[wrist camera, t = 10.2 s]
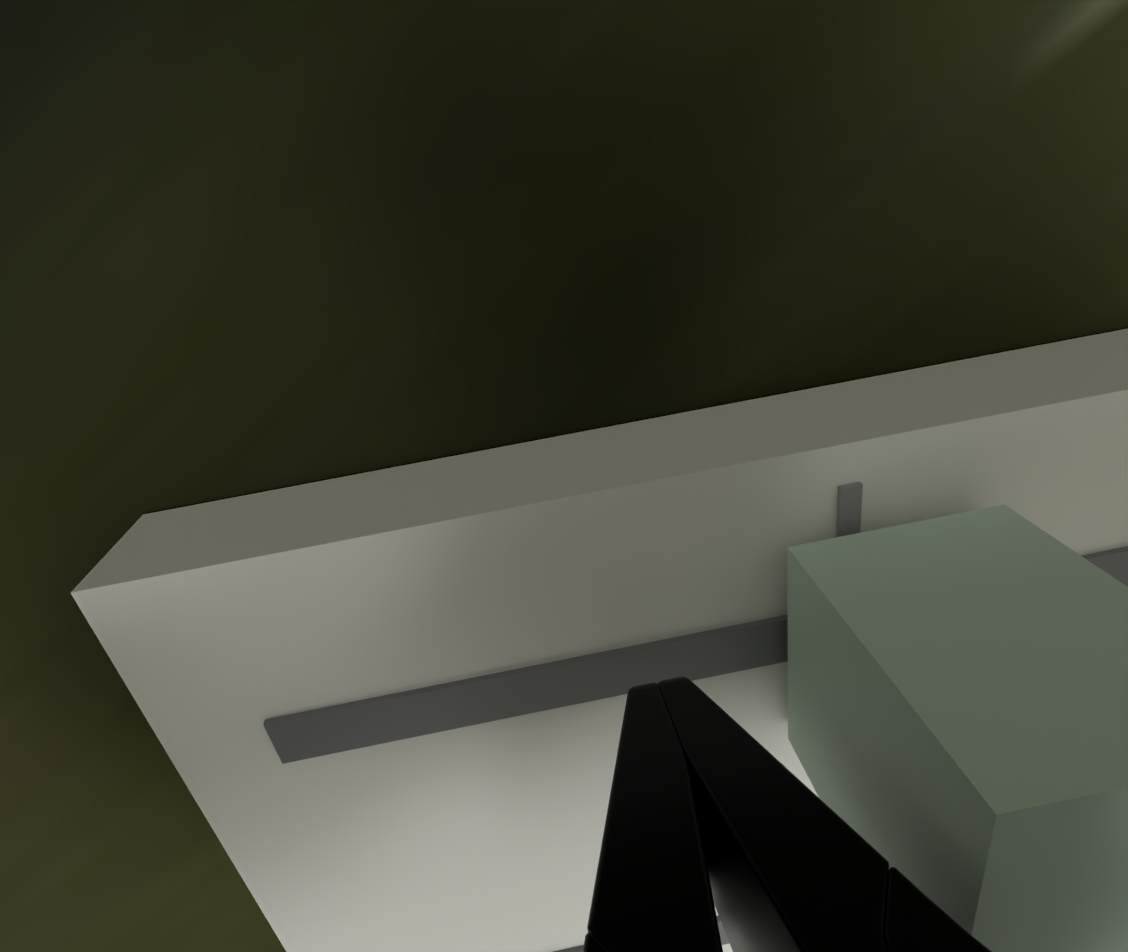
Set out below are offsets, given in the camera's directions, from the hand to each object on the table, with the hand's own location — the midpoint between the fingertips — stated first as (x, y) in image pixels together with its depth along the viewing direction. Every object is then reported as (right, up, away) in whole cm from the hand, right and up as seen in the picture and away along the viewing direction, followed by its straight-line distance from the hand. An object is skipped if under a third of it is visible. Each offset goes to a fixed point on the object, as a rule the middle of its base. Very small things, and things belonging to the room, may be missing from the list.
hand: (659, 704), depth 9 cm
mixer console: (+3, -1, +4) cm, 6 cm away
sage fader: (+3, +1, +1) cm, 4 cm away
